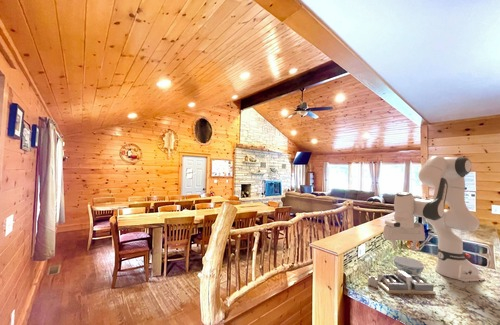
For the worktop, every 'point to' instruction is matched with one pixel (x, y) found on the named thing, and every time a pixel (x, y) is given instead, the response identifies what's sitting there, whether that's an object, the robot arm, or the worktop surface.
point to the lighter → (375, 280)
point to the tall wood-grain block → (405, 278)
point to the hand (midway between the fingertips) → (404, 248)
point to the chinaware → (409, 265)
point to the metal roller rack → (404, 285)
